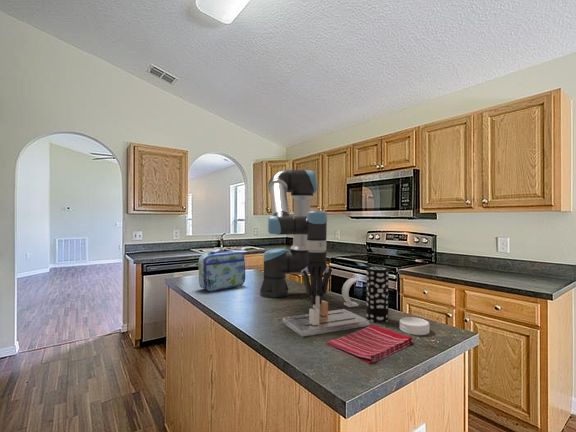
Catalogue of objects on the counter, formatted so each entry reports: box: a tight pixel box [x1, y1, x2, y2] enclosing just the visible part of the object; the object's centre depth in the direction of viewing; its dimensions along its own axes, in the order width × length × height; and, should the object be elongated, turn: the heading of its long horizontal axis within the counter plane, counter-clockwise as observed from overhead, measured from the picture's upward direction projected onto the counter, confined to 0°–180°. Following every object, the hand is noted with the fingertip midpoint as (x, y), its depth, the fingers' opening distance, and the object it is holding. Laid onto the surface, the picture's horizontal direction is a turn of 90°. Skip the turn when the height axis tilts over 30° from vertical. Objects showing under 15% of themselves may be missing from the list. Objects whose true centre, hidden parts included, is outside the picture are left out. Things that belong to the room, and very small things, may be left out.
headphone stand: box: [341, 277, 359, 308], centre depth 145 cm, size 5×6×12 cm
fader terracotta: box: [319, 300, 329, 316], centre depth 123 cm, size 3×2×5 cm
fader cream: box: [308, 307, 319, 325], centre depth 112 cm, size 3×2×5 cm
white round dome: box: [399, 316, 431, 336], centre depth 113 cm, size 10×10×4 cm
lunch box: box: [197, 250, 246, 293], centre depth 178 cm, size 26×11×21 cm, turn 130°
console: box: [282, 308, 370, 338], centre depth 119 cm, size 16×28×2 cm, turn 114°
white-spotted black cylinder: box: [365, 266, 390, 324], centre depth 125 cm, size 8×8×20 cm
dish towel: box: [325, 324, 413, 365], centre depth 100 cm, size 17×24×3 cm
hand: (316, 312), depth 122 cm, fingers closed
